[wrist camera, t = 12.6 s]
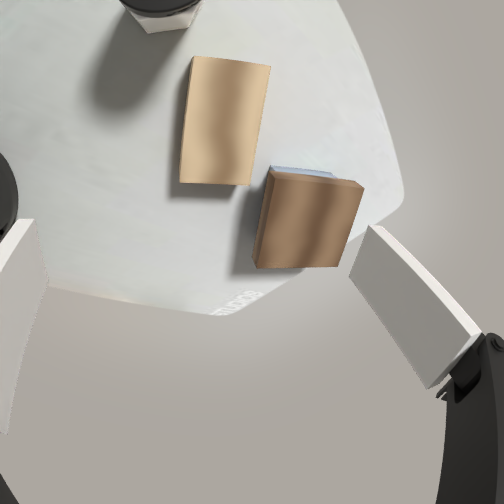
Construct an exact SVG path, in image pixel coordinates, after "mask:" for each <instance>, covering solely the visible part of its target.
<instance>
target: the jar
mask: <svg viewBox="0 0 504 504" xmlns="http://www.w3.org/2000/svg"><path fill="white" fill-rule="evenodd" d="M119 1H120V2H121V3H122V4H123V6H124V7H125V8H126V9H127V10H128V11H129V12H130V13H131V15H132V16H133V17H134V18H135V19H136V21H137V22H138V23H139V24H140V25H141V27H142V28H143V29H144V30H145V32H146V33H148V34H150V33H155V32H162V31H168V30H176V29H184V28H188V27H189V26H190V24H191V23H192V21H193V19H194V18H195V16H196V14H197V13H198V12H199V11H200V9H201V7H202V6H203V4H204V2H205V0H119Z"/></svg>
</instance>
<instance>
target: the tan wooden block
mask: <svg viewBox="0 0 504 504" xmlns="http://www.w3.org/2000/svg"><path fill="white" fill-rule="evenodd" d="M270 70H271V66H267V65H262V64H256V63H250V62H243V61H236V60H229V59H221V58H212V57H201V56H194V57H192V62H191V68H190V75H189V82H188V89H187V97H186V105H185V113H184V122H183V131H182V141H181V152H180V163H179V179H180V183H209V184H229V185H247V186H250V181H251V175H252V169H253V163H254V158H255V152H256V146H257V141H258V135H259V130H260V124H261V118H262V113H263V107H264V102H265V97H266V91H267V86H268V80H269V75H270Z"/></svg>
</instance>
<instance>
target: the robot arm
mask: <svg viewBox="0 0 504 504" xmlns="http://www.w3.org/2000/svg"><path fill="white" fill-rule="evenodd" d="M17 208H18V192H17V186H16V181H15V178H14V175H13V172H12V170H11V168H10V166H9V164H8V163H7V161H6V159H5V158H4V157H3V156H2V154H1V153H0V240H1V239H2V238H3V237H4V235H5V234H6V233H7V231H8V230H9V229H10V227H11V226H12V224H13V222H14V220H15V217H16V213H17ZM349 277H350V279H351V280H352V281H353V283H354V284H355V286H356V287H357V288H358V290H359V291H360V292H361V294H362V295H363V297H364V298H365V299H366V301H367V302H368V303H369V305H370V306H371V308H372V309H373V310H374V312H375V313H376V315H377V316H378V317H379V319H380V320H381V322H382V323H383V325H384V326H385V328H386V329H387V330H388V332H389V333H390V335H391V336H392V337H393V339H394V341H395V342H396V343H397V345H398V346H399V348H400V349H401V351H402V352H403V354H404V355H405V357H406V358H407V360H408V361H409V363H410V364H411V366H412V367H413V369H414V371H415V372H416V374H417V375H418V377H419V378H420V380H421V381H422V383H423V385H424V386H425V388H426V389H429V388H431V387H433V386H436V385H438V384H440V382H441V381H442V380H443V379H444V378H445V377H446V376H447V375H448V374H450V375H451V377H452V378H451V379H450V380H449V381H448V382H447V383H446V385H444V386H443V388H442V389H441V390H440V391H439V392H438V393H437V395H436V398H439V397H440V396H441V395H442V394H443V393H444V392H447V393H446V394H445V395H444V396H443V397H442V398H441V399H442V400H444V401H447V413H446V430H445V443H444V453H443V462H442V469H441V476H440V483H439V489H438V494H437V500H436V504H504V340H503V339H502V338H501V337H500V336H498V335H496V334H494V333H488V334H487V335H486V336H485V335H484V334H483V333H482V331H481V330H480V329H479V327H478V326H477V325H476V324H475V323H474V321H473V320H472V319H471V318H470V317H469V316H468V314H467V313H466V312H465V311H464V310H463V309H462V308H461V306H460V305H459V304H458V303H457V302H456V301H455V300H454V298H453V297H452V296H451V295H450V294H449V293H448V292H447V291H446V290H445V289H444V288H443V287H442V285H440V283H439V282H438V281H437V280H436V279H435V278H434V277H433V276H432V275H431V274H430V273H429V272H428V271H427V270H426V269H425V268H424V267H423V266H422V265H421V264H420V263H419V262H418V261H417V260H416V259H415V258H414V256H412V255H411V254H410V253H409V252H408V251H407V250H406V249H405V248H404V247H403V246H402V245H401V244H400V243H399V242H398V241H397V240H396V239H395V238H394V237H393V236H392V235H391V234H390V233H389V232H388V231H386V230H385V229H384V228H383V227H382V226H375V225H368V228H367V231H366V233H365V236H364V239H363V241H362V244H361V247H360V249H359V252H358V255H357V257H356V260H355V262H354V265H353V267H352V270H351V272H350V274H349ZM48 282H49V279H48V275H47V271H46V268H45V264H44V260H43V255H42V251H41V247H40V242H39V238H38V233H37V228H36V222H35V219H18V220H17V221H16V222H15V224H14V225H13V226H12V228H11V229H10V230H9V232H8V233H7V235H6V236H5V237H4V239H3V240H2V242H1V243H0V433H3V434H8V427H9V421H10V415H11V409H12V403H13V398H14V393H15V388H16V383H17V379H18V375H19V371H20V367H21V363H22V359H23V356H24V352H25V348H26V345H27V341H28V338H29V335H30V332H31V329H32V326H33V322H34V320H35V317H36V314H37V311H38V308H39V305H40V302H41V300H42V297H43V294H44V291H45V289H46V287H47V284H48ZM0 504H19V503H18V501H17V500H16V498H15V497H14V495H13V494H12V492H11V491H10V489H9V487H8V486H7V484H6V482H5V481H4V479H3V477H2V475H1V474H0Z"/></svg>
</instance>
